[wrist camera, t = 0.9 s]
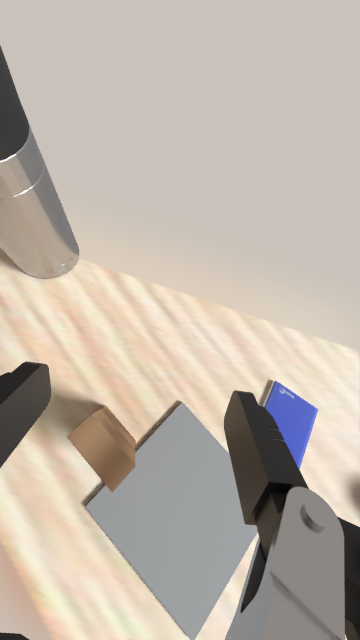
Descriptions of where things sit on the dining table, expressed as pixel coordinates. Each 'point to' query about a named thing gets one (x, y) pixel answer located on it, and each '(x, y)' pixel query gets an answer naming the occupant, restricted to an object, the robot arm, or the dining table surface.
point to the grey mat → (178, 518)
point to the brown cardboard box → (105, 446)
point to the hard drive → (291, 418)
